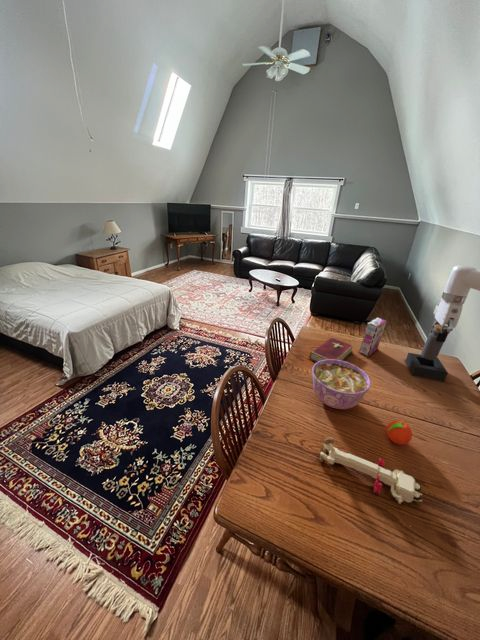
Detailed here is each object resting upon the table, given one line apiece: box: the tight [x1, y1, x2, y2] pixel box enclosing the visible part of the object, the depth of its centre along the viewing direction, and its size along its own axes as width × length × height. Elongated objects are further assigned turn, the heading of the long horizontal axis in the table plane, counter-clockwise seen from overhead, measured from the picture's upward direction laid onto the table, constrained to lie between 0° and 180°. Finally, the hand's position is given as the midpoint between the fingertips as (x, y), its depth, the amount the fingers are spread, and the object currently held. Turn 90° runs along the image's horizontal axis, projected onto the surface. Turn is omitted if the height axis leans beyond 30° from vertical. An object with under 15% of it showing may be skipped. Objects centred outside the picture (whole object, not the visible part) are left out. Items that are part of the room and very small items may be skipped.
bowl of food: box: [311, 359, 372, 410], centre depth 98 cm, size 20×20×12 cm
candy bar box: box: [358, 317, 387, 357], centre depth 130 cm, size 11×5×16 cm, turn 133°
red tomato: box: [385, 420, 413, 446], centre depth 83 cm, size 8×7×7 cm
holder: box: [405, 352, 449, 382], centre depth 119 cm, size 12×12×4 cm
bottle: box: [420, 324, 447, 360], centre depth 114 cm, size 6×6×15 cm
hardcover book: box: [309, 336, 355, 363], centre depth 127 cm, size 12×21×4 cm, turn 137°
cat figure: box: [318, 436, 423, 505], centre depth 71 cm, size 10×9×25 cm
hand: (437, 337), depth 113 cm, fingers closed on bottle, 5 cm apart
